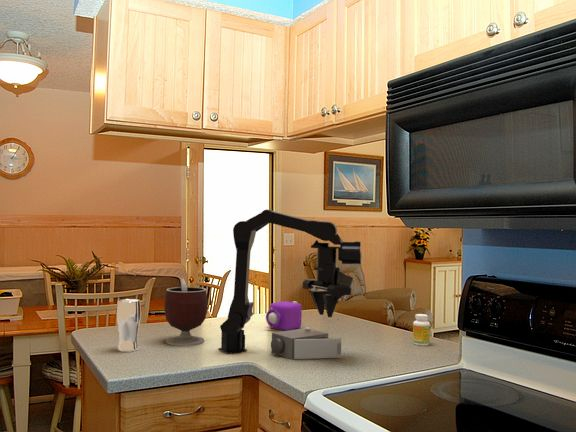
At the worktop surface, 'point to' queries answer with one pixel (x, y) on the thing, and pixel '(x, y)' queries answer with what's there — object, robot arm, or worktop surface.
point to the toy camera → (284, 315)
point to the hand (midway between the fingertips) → (325, 315)
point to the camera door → (317, 348)
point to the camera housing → (292, 340)
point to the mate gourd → (185, 312)
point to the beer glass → (128, 324)
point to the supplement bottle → (421, 330)
